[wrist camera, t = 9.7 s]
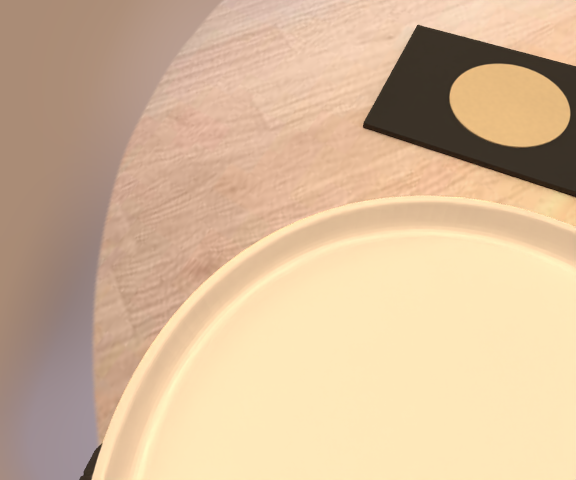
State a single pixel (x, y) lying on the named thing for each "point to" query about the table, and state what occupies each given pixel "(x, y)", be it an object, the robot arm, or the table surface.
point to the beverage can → (367, 354)
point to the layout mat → (483, 107)
